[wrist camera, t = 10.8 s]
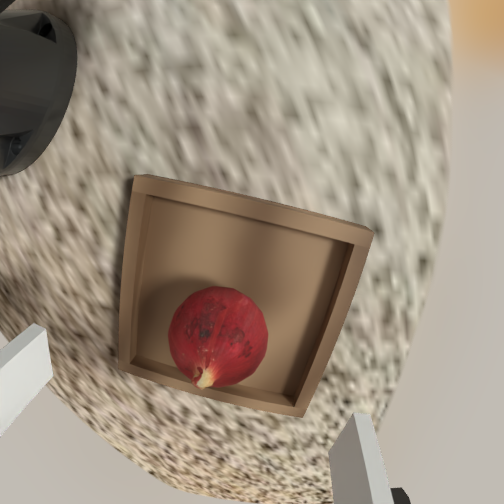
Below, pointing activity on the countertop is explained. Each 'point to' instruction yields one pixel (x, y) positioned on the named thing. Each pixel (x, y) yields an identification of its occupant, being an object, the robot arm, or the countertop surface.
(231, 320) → the red fruit
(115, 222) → the countertop surface
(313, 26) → the countertop surface
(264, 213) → the tray
